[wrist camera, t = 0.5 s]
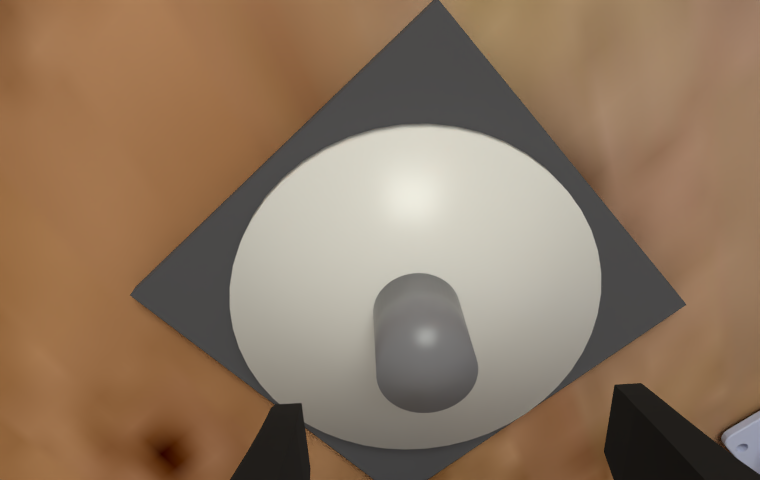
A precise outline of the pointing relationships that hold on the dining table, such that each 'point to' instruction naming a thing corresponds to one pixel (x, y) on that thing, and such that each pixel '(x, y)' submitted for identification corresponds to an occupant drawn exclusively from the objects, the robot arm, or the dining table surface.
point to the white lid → (415, 286)
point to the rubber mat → (389, 108)
